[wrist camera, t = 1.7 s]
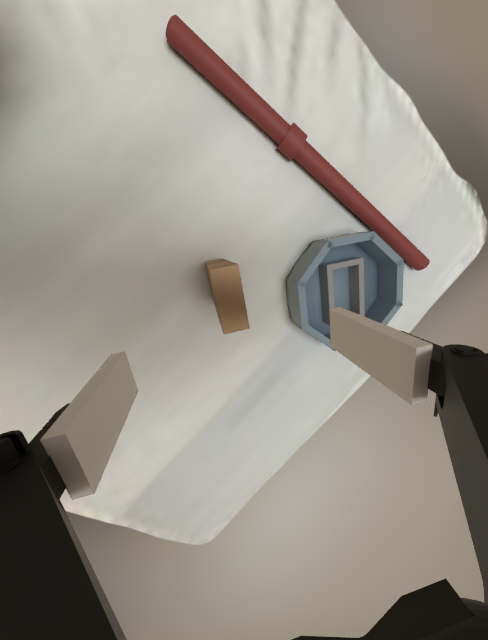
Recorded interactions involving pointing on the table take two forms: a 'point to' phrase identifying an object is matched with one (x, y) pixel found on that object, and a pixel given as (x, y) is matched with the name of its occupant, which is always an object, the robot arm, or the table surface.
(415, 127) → the table surface
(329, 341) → the octagonal blue tray
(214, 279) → the flat wood plank
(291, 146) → the rolling pin
